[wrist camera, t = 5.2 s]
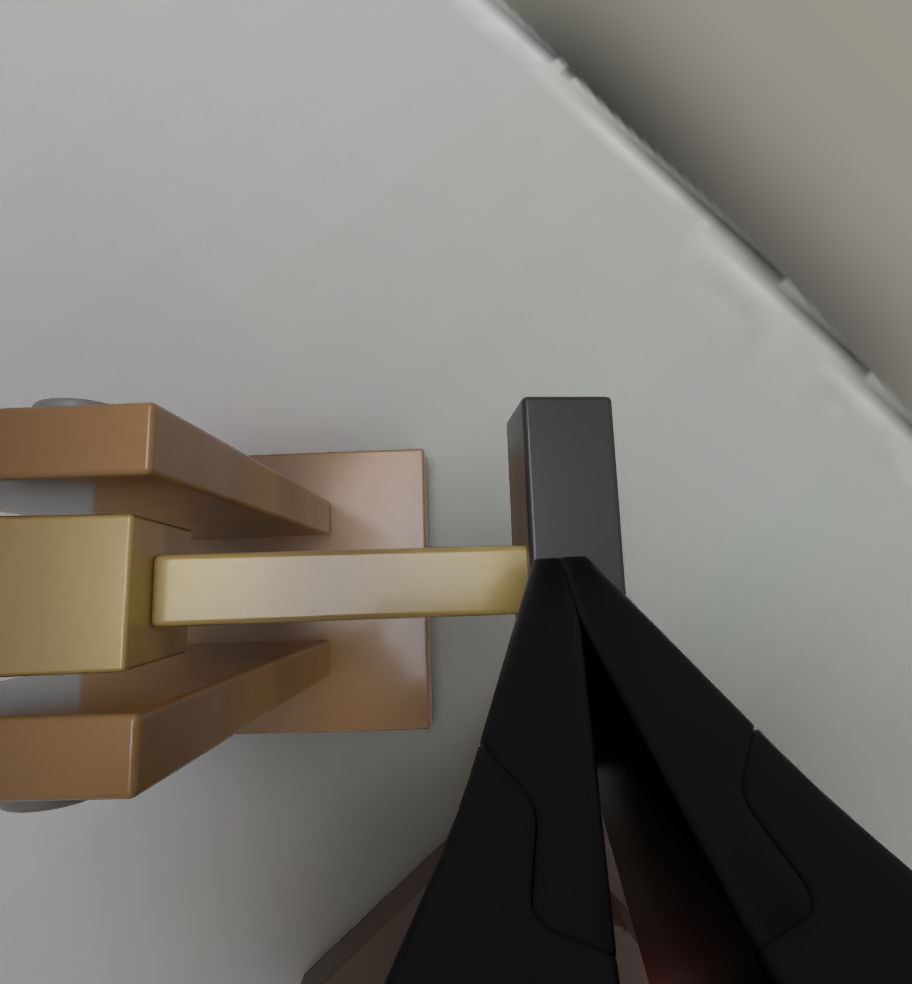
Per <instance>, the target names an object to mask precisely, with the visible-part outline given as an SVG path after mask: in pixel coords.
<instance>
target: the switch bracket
mask: <svg viewBox="0 0 912 984" xmlns="http://www.w3.org/2000/svg"><path fill="white" fill-rule="evenodd" d="M0 512H6V513H13V514H20V515H26V516H40V515H93V514H133V515H137V516H141V517H144V518H148V519H152V520H156V521H159V522H163V523H167V524H171V525H174V526H178V527H182V528H186V529H189V530H190V531H191V553H190V554H203V553H243V552H283V551H322V550H362V549H402V548H429V536H428V494H427V458H426V456H425V453H424V451H423V449H408V450H381V451H355V452H328V453H301V454H274V455H245V454H243V453H242V452H240V451H238V450H236V449H235V448H233V447H231V446H229V445H227V444H226V443H224V442H222V441H220V440H219V439H217V438H215V437H213V436H212V435H210V434H208V433H206V432H204V431H203V430H201V429H199V428H197V427H196V426H194V425H192V424H190V423H189V422H187V421H185V420H183V419H181V418H180V417H178V416H176V415H174V414H173V413H171V412H169V411H167V410H166V409H164V408H162V407H160V406H158V405H157V404H154V403H127V404H107V403H103V402H98V401H92V400H85V399H75V398H52V399H44V400H40V401H37V402H35V403H34V405H33V406H32V407H26V408H1V409H0ZM432 718H433V708H432V665H431V622H430V617H422V618H394V619H367V620H339V621H311V622H284V623H256V624H229V625H201V626H187V649H186V652H184V653H182V654H179V655H175V656H172V657H169V658H165V659H162V660H159V661H156V662H152V663H149V664H146V665H142V666H139V667H136V668H133V669H129V670H126V671H123V672H108V673H84V674H61V675H38V676H24V677H19V678H14V679H9V680H4V681H0V809H1V810H3V811H7V812H18V813H26V812H39V811H46V810H52V809H58V808H62V807H67V806H70V805H74V804H78V803H81V802H84V801H86V800H102V799H131V798H133V797H135V796H137V795H139V794H140V793H142V792H144V791H145V790H147V789H148V788H150V787H152V786H153V785H155V784H156V783H158V782H160V781H161V780H163V779H164V778H166V777H167V776H169V775H171V774H172V773H174V772H175V771H177V770H179V769H180V768H182V767H183V766H185V765H187V764H188V763H190V762H191V761H193V760H195V759H196V758H198V757H199V756H201V755H203V754H204V753H206V752H207V751H209V750H211V749H212V748H214V747H215V746H217V745H219V744H220V743H222V742H223V741H225V740H226V739H228V738H230V737H231V736H233V735H234V734H247V733H288V732H328V731H369V730H409V729H429V728H430V725H431V722H432Z"/></svg>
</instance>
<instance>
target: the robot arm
mask: <svg viewBox="0 0 912 984" xmlns="http://www.w3.org/2000/svg"><path fill="white" fill-rule="evenodd" d="M753 730H754V725H753V724H752V723H751V722H750V721H749V720H748V719H747V718H746V717H745V716H744V715H743V714H742V713H741V712H740V711H739V710H738V709H737V708H736V707H735V706H734V705H733V704H732V703H731V702H730V701H729V700H728V699H727V698H726V697H725V696H724V695H723V693H722V692H721V691H720V690H719V689H718V688H717V687H716V686H715V685H714V684H713V683H712V682H711V681H710V680H709V679H708V678H707V677H706V676H705V675H704V674H703V673H702V672H701V671H700V670H699V669H698V668H697V667H696V666H695V665H694V664H693V663H692V662H691V661H690V660H689V659H688V658H687V657H686V656H685V655H684V654H683V653H682V652H681V651H680V650H679V649H678V648H677V647H676V646H675V645H674V644H673V643H672V642H671V641H670V640H669V639H668V638H667V637H666V636H665V635H664V634H663V633H662V632H661V631H660V630H659V629H658V628H657V627H656V626H655V625H654V624H653V623H652V622H651V621H650V620H649V619H648V618H647V617H646V616H645V615H644V614H643V613H642V612H641V611H640V610H639V609H638V608H637V607H636V606H635V604H634V603H633V602H632V601H631V600H630V599H629V598H628V597H627V596H626V595H625V594H624V593H623V592H622V591H621V590H620V589H619V588H618V587H617V586H616V585H615V584H614V583H613V582H612V581H611V580H610V579H609V578H608V577H607V576H606V575H605V574H604V573H603V572H602V571H601V570H600V569H599V568H598V567H597V566H596V565H595V564H594V563H593V562H592V561H591V560H590V559H589V558H587V557H585V556H573V557H562V558H561V559H559V558H543V559H536V560H534V561H533V563H532V566H531V570H530V573H529V577H528V580H527V583H526V587H525V590H524V594H523V597H522V601H521V604H520V607H519V611H518V614H517V618H516V621H515V625H514V628H513V631H512V635H511V638H510V642H509V645H508V649H507V652H506V655H505V659H504V662H503V666H502V669H501V672H500V676H499V679H498V683H497V686H496V690H495V693H494V696H493V700H492V703H491V707H490V710H489V713H488V717H487V720H486V724H485V727H484V731H483V734H482V737H481V741H480V746H479V747H478V750H477V753H476V757H475V760H474V763H473V767H472V770H471V774H470V777H469V780H468V783H467V786H466V789H465V792H464V795H463V798H462V801H461V804H460V807H459V810H458V813H457V815H456V818H455V820H454V823H453V825H452V828H451V830H450V833H449V835H448V837H447V840H446V842H445V845H444V847H443V850H442V852H441V855H440V857H439V860H438V862H437V864H436V866H435V869H434V871H433V873H432V875H431V878H430V880H429V882H428V884H427V887H426V889H425V891H424V893H423V896H422V898H421V900H420V902H419V905H418V907H417V909H416V911H415V914H414V916H413V918H412V920H411V923H410V925H409V927H408V929H407V932H406V934H405V936H404V938H403V941H402V943H401V945H400V947H399V950H398V952H397V954H396V956H395V959H394V961H393V963H392V965H391V968H390V970H389V972H388V974H387V976H386V978H385V980H384V982H383V984H620V982H619V973H618V964H617V961H616V959H615V957H616V944H615V935H614V925H613V916H612V907H611V897H610V888H609V879H608V869H607V860H606V851H605V841H604V832H603V823H602V816H603V820H604V823H605V827H606V830H607V834H608V838H609V841H610V845H611V848H612V852H613V856H614V859H615V863H616V866H617V870H618V874H619V877H620V881H621V884H622V888H623V892H624V895H625V899H626V902H627V906H628V910H629V913H630V917H631V920H632V924H633V928H634V931H635V935H636V938H637V942H638V946H639V949H640V953H641V956H642V960H643V964H644V967H645V971H646V974H647V978H648V982H649V984H912V870H911V869H910V868H909V867H907V866H906V865H905V864H904V863H903V862H902V861H900V860H899V859H898V858H897V857H896V856H895V855H893V854H892V853H891V852H890V851H889V850H888V849H886V848H885V847H884V846H883V845H882V844H880V843H879V842H878V841H877V840H876V839H875V838H873V837H872V836H871V835H870V834H869V833H868V832H866V831H865V830H864V829H863V828H862V827H861V826H860V825H859V824H857V823H856V822H855V821H854V820H853V819H852V818H851V817H850V816H848V815H847V814H846V813H845V812H844V811H843V810H842V809H841V808H839V807H838V806H837V805H836V804H835V803H834V802H833V801H832V800H830V799H829V798H828V797H827V796H826V795H825V794H824V793H823V792H821V791H820V790H819V789H818V788H817V787H816V786H815V785H814V784H813V783H812V782H811V781H810V780H809V779H808V778H807V777H806V776H805V775H804V774H803V773H802V772H801V771H800V770H799V769H798V768H797V767H796V766H795V765H793V764H792V763H791V762H790V761H789V760H788V759H787V758H786V757H785V756H784V755H783V754H782V753H781V752H780V751H779V750H778V749H777V748H776V747H775V746H774V745H773V744H772V743H771V742H770V741H769V740H768V739H767V738H766V737H765V736H764V735H763V734H762V733H761V732H760V731H759V730H754V731H753ZM601 812H602V813H601Z"/></svg>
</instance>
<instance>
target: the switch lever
mask: <svg viewBox="0 0 912 984" xmlns="http://www.w3.org/2000/svg"><path fill="white" fill-rule="evenodd" d="M507 437H508V459H509V480H510V502H511V524H512V546H482V547H442V548H402V549H362V550H322V551H283V552H243V553H203V554H190V553H191V531H190V530H189V529H186V528H182V527H178V526H174V525H171V524H167V523H163V522H159V521H156V520H152V519H148V518H144V517H141V516H137V515H133V514H93V515H40V516H0V677H14V676H38V675H61V674H84V673H108V672H123V671H126V670H129V669H133V668H136V667H139V666H142V665H146V664H149V663H152V662H156V661H159V660H162V659H165V658H169V657H172V656H175V655H179V654H182V653H184V652H186V649H187V626H201V625H229V624H256V623H284V622H311V621H339V620H367V619H394V618H422V617H449V616H477V615H505V614H516V618H517V614H518V611H519V607H520V604H521V601H522V597H523V594H524V590H525V587H526V583H527V580H528V577H529V573H530V570H531V566H532V563H533V561H534V560H536V559H543V558H559V559H561V558H562V557H573V556H585V557H587V558H589V559H590V560H591V561H592V562H593V563H594V564H595V565H596V566H597V567H598V568H599V569H600V570H601V571H602V572H603V573H604V574H605V575H606V576H607V577H608V578H609V579H610V580H611V581H612V582H613V583H614V584H615V585H616V586H617V587H618V588H619V589H620V590H621V591H622V592H623V593H624V594H625V595H626V593H625V580H624V566H623V553H622V540H621V527H620V513H619V500H618V487H617V474H616V460H615V447H614V434H613V421H612V407H611V400H610V398H608V397H525V398H523V399H522V400H521V402H520V403H519V405H518V407H517V408H516V410H515V411H514V413H513V414H512V416H511V418H510V419H509V421H508V423H507Z"/></svg>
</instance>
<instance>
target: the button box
mask: <svg viewBox="0 0 912 984" xmlns="http://www.w3.org/2000/svg"><path fill="white" fill-rule="evenodd" d="M601 813H602V812H601ZM602 823H603V832H604V841H605V851H606V860H607V869H608V879H609V888H610V897H611V907H612V916H613V925H614V935H615V944H616V957H615V959H616V961H617V964H618V973H619V982H620V984H649V982H648V978H647V974H646V971H645V967H644V964H643V960H642V956H641V953H640V949H639V946H638V942H637V938H636V935H635V931H634V928H633V924H632V920H631V917H630V913H629V910H628V906H627V902H626V899H625V895H624V892H623V888H622V884H621V881H620V877H619V874H618V870H617V866H616V863H615V859H614V856H613V852H612V848H611V845H610V841H609V838H608V834H607V830H606V827H605V823H604V820H603V816H602ZM445 842H446V841H445ZM445 842H444V843H443V844H442V845H441V846H439V847H438V848H437V849H436V850H435V851H434V852H433V853H432V854H431V855H430V856H429V857H428V858H427V859H426V860H425V861H424V862H423V863H422V864H421V865H419V866H418V867H417V868H416V869H415V870H414V871H413V872H412V873H411V874H410V875H409V876H408V877H407V878H406V879H405V880H404V881H403V882H402V883H401V884H399V885H398V886H397V887H396V888H395V889H394V890H393V891H392V892H391V893H390V894H389V895H388V896H387V897H386V898H385V899H384V900H383V901H382V902H381V903H379V904H378V905H377V906H376V907H375V908H374V909H373V910H372V911H371V912H370V913H369V914H368V915H367V916H366V917H365V918H364V919H363V920H362V921H361V922H359V923H358V924H357V925H356V926H355V927H354V928H353V929H352V930H351V931H350V932H349V933H348V934H347V935H346V936H345V937H344V938H343V939H342V940H341V941H339V942H338V943H337V944H336V945H335V946H334V947H333V948H332V949H331V950H330V951H329V952H328V953H327V954H326V955H325V956H324V957H323V958H322V959H321V960H320V961H318V962H317V963H316V964H315V965H314V966H313V967H312V968H311V969H310V970H309V971H308V972H307V973H306V974H305V975H304V977H303V979H302V982H301V984H383V982H384V980H385V978H386V976H387V974H388V972H389V970H390V968H391V965H392V963H393V961H394V959H395V956H396V954H397V952H398V950H399V947H400V945H401V943H402V941H403V938H404V936H405V934H406V932H407V929H408V927H409V925H410V923H411V920H412V918H413V916H414V914H415V911H416V909H417V907H418V905H419V902H420V900H421V898H422V896H423V893H424V891H425V889H426V887H427V884H428V882H429V880H430V878H431V875H432V873H433V871H434V869H435V866H436V864H437V862H438V860H439V857H440V855H441V852H442V850H443V847H444V845H445Z"/></svg>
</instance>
